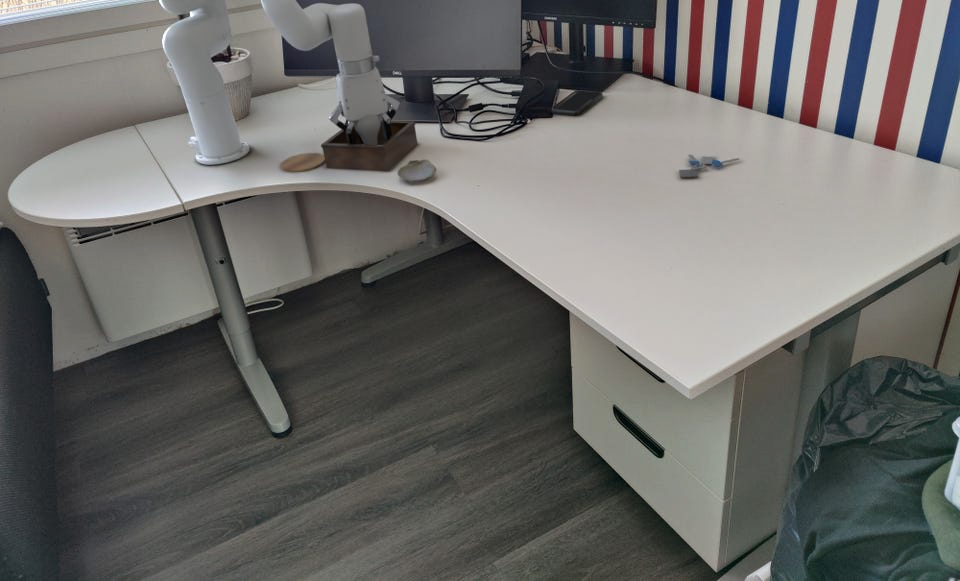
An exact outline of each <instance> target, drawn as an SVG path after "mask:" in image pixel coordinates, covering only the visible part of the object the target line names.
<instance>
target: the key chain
mask: <svg viewBox="0 0 960 581" xmlns="http://www.w3.org/2000/svg"><path fill="white" fill-rule="evenodd" d="M687 157H688V158H689V159H690V160H688V163H689V164H690V165H693V166H694V167H693V168H692V167H691V169H679V170H678V173H679V176H680V178H694V177H698V175H699V174H698V171H702V170H705V169H707V168H711V167H717V168H720V167H723V165H724V164H727V163H732V162H736V161H739V160H740V158H739V157H737V158H731V159H726V160H723V161H720V160H718V159H714V157H712V156H704V155H703V156H702V157H701V162H700V160H697V159H696V157H694V155H692V154H687Z"/></svg>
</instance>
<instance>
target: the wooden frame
mask: <svg viewBox="0 0 960 581" xmlns="http://www.w3.org/2000/svg"><path fill="white" fill-rule="evenodd" d="M380 120H381V119H380ZM381 122H382V120H381ZM390 126H391V132H392V136H390V138H391V139H390V140H388V141H387V140H386V139H385V138H384V136H383V131H382V125H381V126H380V129H379V132H378V136H377V141H378V144H377V145H364V143H363V140H362V138H361V136H360V135H359V134H358V133H357V131H356V130H355V128H354V125H353V128H352V131H353V132H354V133H355V138H356V143H357V144H348V141H347V136H346V132H345V131H344V130H342V129H340V130H338V131H337V132H336V133H335V134H333V135H332V136H331V137H329V138H328V139H326V140H325V141H323V143H321V144H320V148H321V149H322V153H323V156H324V157H325V162H324V163H325V166H326V169H341V170H342V169H343V170H361V171H378V172H390V171H391V170H392V169H393V168H394V167H395V166H396V165H398V164H399V162H400V161H401V160H403V159H404V158H405V157H406V156H407V155H408V154H409V153H411V151H412V150H413V149H415V148H416V147H417V145H418V139H417V138H418V137H417V132H416V121H415V120H414V121H413V120H411V121H410V120H391V123H390Z"/></svg>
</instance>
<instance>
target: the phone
mask: <svg viewBox="0 0 960 581" xmlns="http://www.w3.org/2000/svg"><path fill="white" fill-rule="evenodd" d="M602 99H603V92H602V91H595V90H582V89H577V90H574V91H572V92H571V93H570V94H568V95H567V96H565V97H564V98H563V99H562V100H560V101H559V102H557V103H556V104H554V105H553V106H552V107H551V114H553V115H554V114H555V115H564V116H572V117H573V116H574V117H579V116H582V114H584V113H585V112H586V111H588V110H589V109H590V108H592V107H593V106H594V105H595V104H596V103H598V102H599V101H600V100H602Z"/></svg>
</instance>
